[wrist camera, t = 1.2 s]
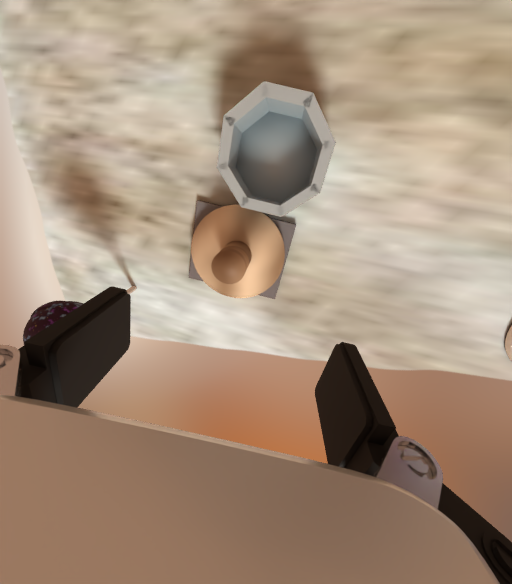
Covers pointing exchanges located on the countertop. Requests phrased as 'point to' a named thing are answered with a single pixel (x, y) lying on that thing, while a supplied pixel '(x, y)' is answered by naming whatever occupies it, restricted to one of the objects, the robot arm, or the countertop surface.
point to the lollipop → (51, 315)
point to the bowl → (275, 149)
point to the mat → (284, 227)
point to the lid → (238, 251)
